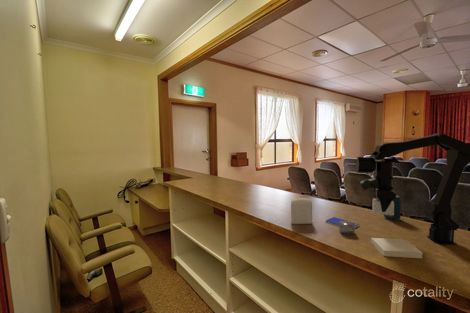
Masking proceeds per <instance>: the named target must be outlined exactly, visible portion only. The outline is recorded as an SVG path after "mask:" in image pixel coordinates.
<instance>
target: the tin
mask: <svg viewBox="0 0 470 313" xmlns="http://www.w3.org/2000/svg"><path fill="white" fill-rule="evenodd" d="M354 223H355V222H353V223H352V221H350V222H349V220H346V221H340V222H339V226H338V229H339V230H338V232H339V233H340V234H342V235H344V236H354V235H355V234H356V232H355V229H356V228H355V224H354Z"/></svg>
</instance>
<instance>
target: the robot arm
mask: <svg viewBox="0 0 470 313" xmlns="http://www.w3.org/2000/svg"><path fill="white" fill-rule="evenodd" d="M435 145H436V146H438V147H439V148H440V149H442V150H444V151H446V153H445V154H446V155H445V158H446V167H445V169H444V172H443V174H442V177H441V180H440V182H439V185H438V187H437V188H438V189H437V191H436V194H435V195H434V197H433V198H432V199H430V200H428V199H426V201H425V204H424V206H423V207H422V209H423V213H424V216H425V217H426V218H428V221H429V222H430V227H429V229H428V235H427V236H426V237H427V238H429V240H431V241H433V242H435V243H436V244H438V245H439V244H440V245H455V246H456V245H458V243H457V242H456V241H455V231H458V228H459V227H460V225H459V224H458V223H457V222H456V221H455V220H453V218H452V215H453V209H452V200H453V197H454V196H455V193H456V191H457V187H458V185H459V182H460V180H461V177H462V175H463V172H464V170H465V167H466V166H468V165H469V164H470V142H465V141H463V140H460V139H457V138H455V137H451V136H449V135H447V134H446V133H442V132H441V133H433V134H432V135H431V134H430V135H426V136H422V137H417V138H412V139H408V140H404V141H396V142H395V141H392V142H381V143H378V144H377V145H376V146H375V148H374V151H373V152H372V154H370V156H365V157H363V156H357V157H356V161H355V164H354V166H355V172H356V173H357V174H358V173H359V174H360V173H361V174H363V173H364V174H372V173H374V172H375V175H374V177H373V178H367V179H364V180H361V181H360V185H361V188H362V190H363V191H366V190H368V189H373V191H374V193H375V196H376V197H375V198H378V199H380V203H381V209H382V212H386V210H387V208H388V207H389V205H390V204H391V202H392V201H393V199H396V195H397V193H396V192H395V191H394V186H393V180H394V173H393V172H394V171H393V170H394V169H393V168H394V164H399V163H400V160H398V159H397V158H396V156H397V155H400V154H401V153H403V152H407V151H412V150H417V149H420V148H421V149H422V148H425V147H430V146H435Z"/></svg>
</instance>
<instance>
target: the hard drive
mask: <svg viewBox="0 0 470 313" xmlns="http://www.w3.org/2000/svg"><path fill="white" fill-rule="evenodd" d="M340 221H347V220H345V219H342V218H339V217H335V216H333V217H331V218H329V219H325V223H327V224H330V225H332V226H336V227H339V222H340ZM348 221H349V220H348ZM349 222H352V221H349ZM352 223H354V224H355V229H356V228H358V227H360V223H356V222H354V221H353V222H352Z"/></svg>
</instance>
